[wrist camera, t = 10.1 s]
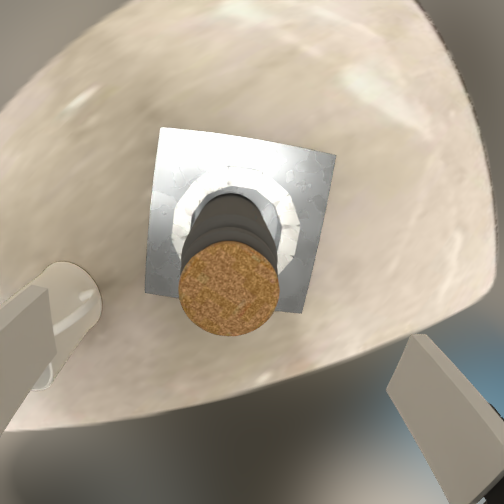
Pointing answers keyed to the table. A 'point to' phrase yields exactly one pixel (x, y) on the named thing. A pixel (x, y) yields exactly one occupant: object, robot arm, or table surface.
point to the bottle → (229, 268)
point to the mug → (66, 311)
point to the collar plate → (244, 183)
